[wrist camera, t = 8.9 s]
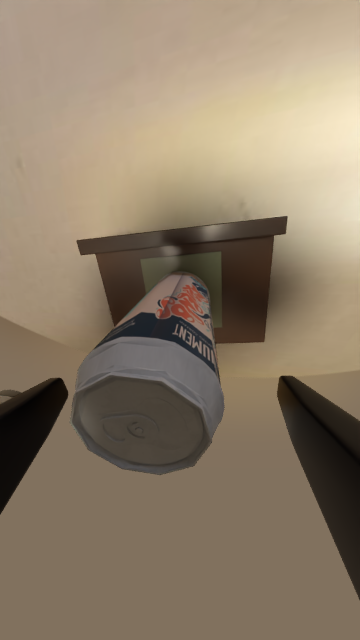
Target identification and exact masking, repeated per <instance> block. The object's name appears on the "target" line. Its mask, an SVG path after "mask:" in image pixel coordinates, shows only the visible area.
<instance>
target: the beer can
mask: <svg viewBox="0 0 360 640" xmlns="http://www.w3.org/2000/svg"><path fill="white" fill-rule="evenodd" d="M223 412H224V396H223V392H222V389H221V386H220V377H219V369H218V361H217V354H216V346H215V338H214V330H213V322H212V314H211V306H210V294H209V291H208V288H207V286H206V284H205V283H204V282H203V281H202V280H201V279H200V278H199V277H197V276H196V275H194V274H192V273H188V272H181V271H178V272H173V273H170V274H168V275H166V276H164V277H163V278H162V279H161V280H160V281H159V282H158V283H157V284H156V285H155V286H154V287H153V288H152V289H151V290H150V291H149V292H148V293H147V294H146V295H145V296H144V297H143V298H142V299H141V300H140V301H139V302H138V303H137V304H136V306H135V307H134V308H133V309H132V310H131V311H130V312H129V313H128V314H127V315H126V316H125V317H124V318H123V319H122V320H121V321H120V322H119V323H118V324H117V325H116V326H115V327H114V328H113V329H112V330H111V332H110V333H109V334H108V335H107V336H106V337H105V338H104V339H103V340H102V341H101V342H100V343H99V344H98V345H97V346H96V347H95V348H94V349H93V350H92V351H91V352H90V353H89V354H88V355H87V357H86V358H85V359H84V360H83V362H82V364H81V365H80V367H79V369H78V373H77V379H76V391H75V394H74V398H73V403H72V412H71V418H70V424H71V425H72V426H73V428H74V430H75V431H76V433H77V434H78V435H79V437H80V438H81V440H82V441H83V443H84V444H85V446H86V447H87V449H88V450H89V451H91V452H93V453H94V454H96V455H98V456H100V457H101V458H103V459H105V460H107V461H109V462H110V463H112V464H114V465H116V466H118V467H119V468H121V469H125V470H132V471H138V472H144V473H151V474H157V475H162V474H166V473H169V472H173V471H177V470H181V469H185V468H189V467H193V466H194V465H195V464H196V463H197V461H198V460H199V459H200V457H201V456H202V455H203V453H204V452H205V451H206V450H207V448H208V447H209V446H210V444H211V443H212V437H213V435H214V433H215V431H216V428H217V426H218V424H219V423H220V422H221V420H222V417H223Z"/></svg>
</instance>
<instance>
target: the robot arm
mask: <svg viewBox="0 0 360 640" xmlns="http://www.w3.org/2000/svg"><path fill="white" fill-rule="evenodd" d="M277 397H278V400H279V404H280V407H281V410H282V413H283V416H284V419H285V423H286V426H287V429H288V432H289V435H290V438H291V441H292V444H293V446H294V449H295V451H296V453H297V455H298V458H299V460H300V463H301V465H302V467H303V470H304V472H305V474H306V477H307V479H308V481H309V483H310V486H311V488H312V490H313V493H314V495H315V497H316V500H317V502H318V504H319V507H320V509H321V511H322V514H323V516H324V518H325V521H326V523H327V525H328V528H329V530H330V532H331V534H332V537H333V539H334V542H335V544H336V546H337V548H338V551H339V553H340V555H341V558H342V560H343V562H344V565H345V567H346V569H347V572H348V574H349V576H350V579H351V581H352V583H353V585H354V588H355V590H356V592H357V595H358V597H359V599H360V421H359V420H358V419H356V418H355V417H353V416H352V415H350V414H349V413H347V412H346V411H344V410H343V409H341V408H340V407H338V406H337V405H335V404H334V403H332V402H331V401H329V400H328V399H326V398H325V397H323V396H322V395H320V394H319V393H317V392H316V391H314V390H313V389H311V388H310V387H308V386H307V385H305V384H304V383H302V382H301V381H299V380H298V379H296V378H295V377H293V376H280V378H279V383H278V391H277ZM67 398H68V390H67V388H66V386H65V384H64V382H63V380H62V379H61V378H50V379H48V380H46V381H44V382H42V383H40V384H38V385H37V386H34V387H33V388H30V389H29V390H27V391H25V392H23V393H21V394H19V395H17V396H15V397H13V398H11V399H9V400H7V401H5V402H3V403H1V404H0V514H1V512H2V511H3V509H4V507H5V506H6V504H7V503H8V501H9V499H10V498H11V496H12V494H13V493H14V491H15V490H16V488H17V486H18V485H19V483H20V481H21V480H22V478H23V476H24V474H25V473H26V471H27V470H28V468H29V466H30V465H31V463H32V462H33V460H34V458H35V457H36V455H37V453H38V452H39V450H40V448H41V447H42V445H43V443H44V442H45V440H46V438H47V437H48V435H49V433H50V431H51V429H52V427H53V425H54V424H55V422H56V420H57V417H58V416H59V414H60V412H61V410H62V408H63V406H64V404H65V402H66V400H67Z"/></svg>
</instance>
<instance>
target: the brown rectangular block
mask: <svg viewBox="0 0 360 640" xmlns="http://www.w3.org/2000/svg"><path fill="white" fill-rule="evenodd" d="M286 226H287V216H283V217H274V218H266V219H257V220H248V221H240V222H231V223H222V224H214V225H205V226H196V227H188V228H179V229H170V230H162V231H153V232H144V233H136V234H127V235H119V236H110V237H101V238H93V239H84V240H77V244H78V248H79V251H80V255H88V254H96V258H97V262H98V266H99V270H100V273H101V277H102V281H103V285H104V289H105V292H106V296H107V300H108V304H109V308H110V311H111V315H112V319H113V323H114V327H115V326H116V325H117V324H118V323H119V322H120V321H121V320H122V319H123V318H124V317H125V316H126V315H127V314H128V313H129V312H130V311H131V310H132V309H133V308H134V307H135V306H136V304H137V303H138V302H139V301H140V300H141V299H142V298H143V297H144V296H145V295H146V294H147V293H148V292H149V291H150V290H151V289H152V288H153V287H154V286H155V285H156V284H157V283H158V282H159V281H160V280H161V279H162V278H163V277H164V276H166V275H168V274H170V273H173V272H178V271H181V272H188V273H192V274H194V275H196V276H197V277H199V278H200V279H201V280H202V281H203V282H204V283H205V284H206V286H207V288H208V291H209V294H210V306H211V314H212V322H213V330H214V338H215V344H216V343H250V342H264V340H265V329H266V318H267V307H268V296H269V286H270V275H271V264H272V253H273V242H274V235H281V234H286Z"/></svg>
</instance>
